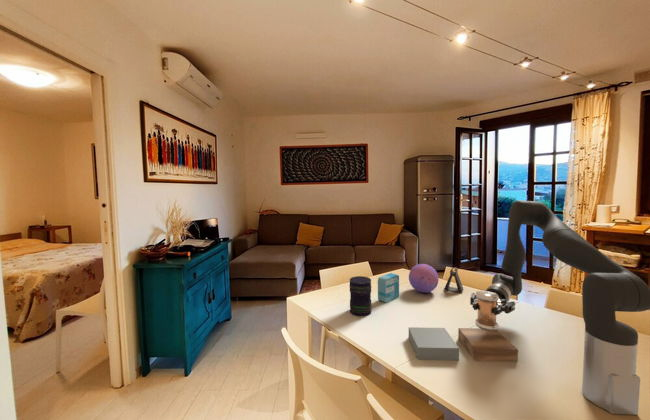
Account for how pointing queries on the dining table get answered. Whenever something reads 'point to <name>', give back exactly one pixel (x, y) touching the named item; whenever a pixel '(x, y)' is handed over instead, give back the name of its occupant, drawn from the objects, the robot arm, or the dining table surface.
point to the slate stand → (433, 344)
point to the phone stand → (458, 282)
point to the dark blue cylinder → (360, 296)
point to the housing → (486, 310)
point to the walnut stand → (487, 345)
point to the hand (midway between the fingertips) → (484, 309)
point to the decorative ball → (423, 278)
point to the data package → (388, 287)
